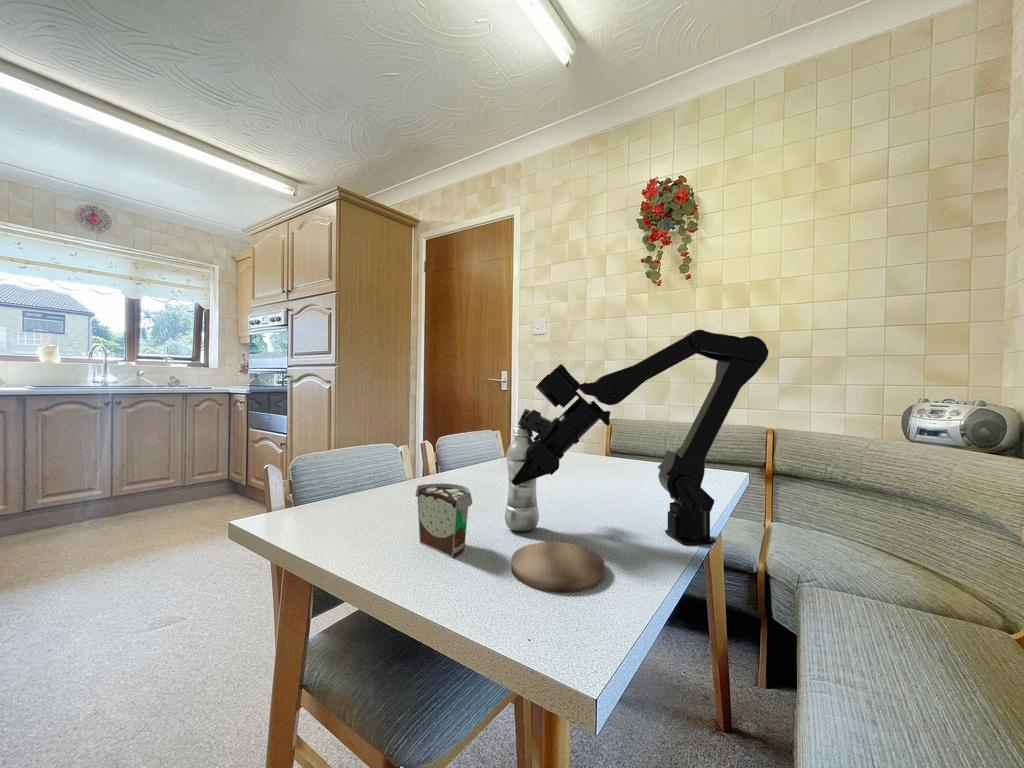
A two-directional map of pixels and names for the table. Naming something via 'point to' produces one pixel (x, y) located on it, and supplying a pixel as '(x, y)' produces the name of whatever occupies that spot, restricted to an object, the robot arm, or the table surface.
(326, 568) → the table surface
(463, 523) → the food container
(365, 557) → the table surface
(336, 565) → the table surface
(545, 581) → the walnut stand
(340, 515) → the table surface
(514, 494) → the plastic bottle
